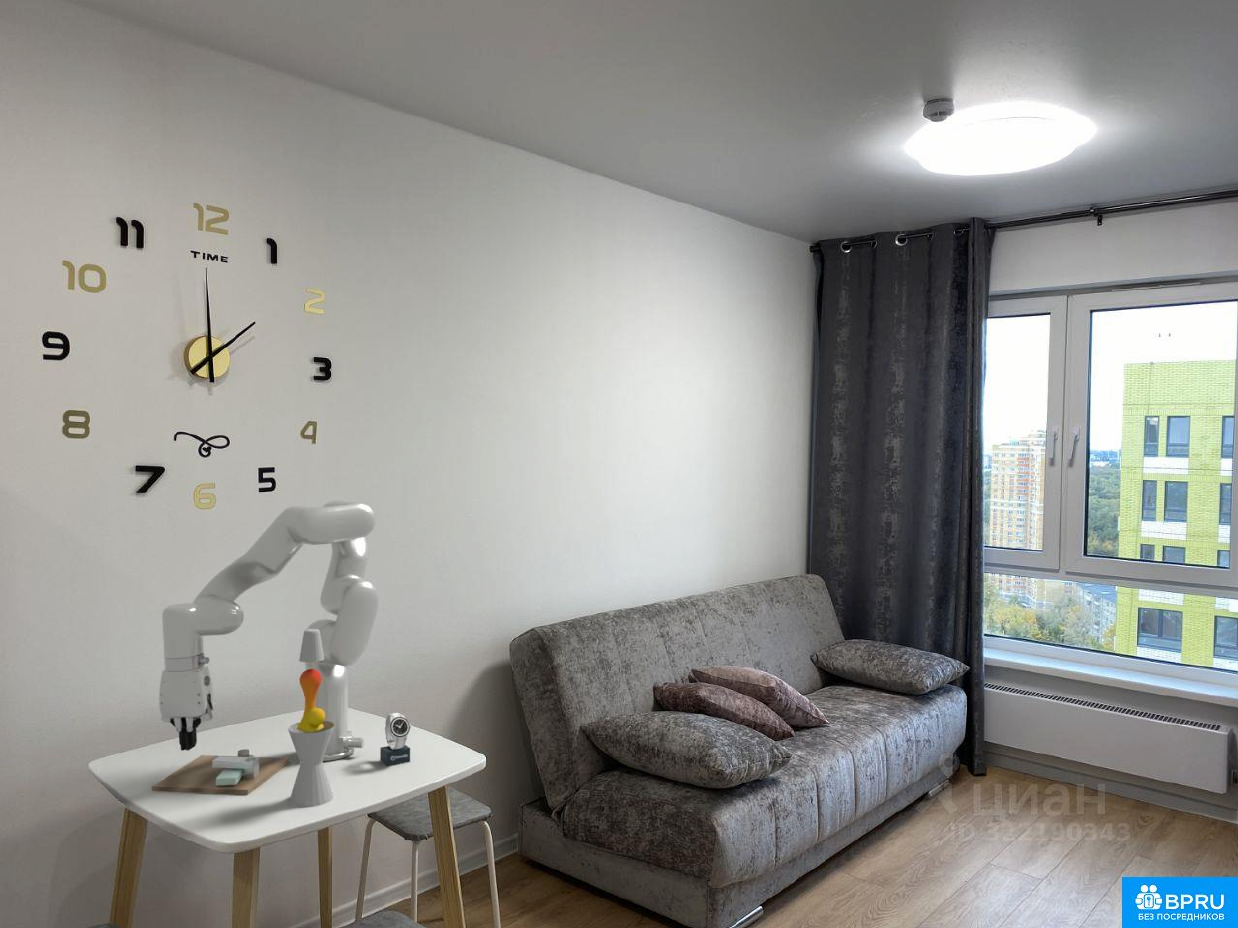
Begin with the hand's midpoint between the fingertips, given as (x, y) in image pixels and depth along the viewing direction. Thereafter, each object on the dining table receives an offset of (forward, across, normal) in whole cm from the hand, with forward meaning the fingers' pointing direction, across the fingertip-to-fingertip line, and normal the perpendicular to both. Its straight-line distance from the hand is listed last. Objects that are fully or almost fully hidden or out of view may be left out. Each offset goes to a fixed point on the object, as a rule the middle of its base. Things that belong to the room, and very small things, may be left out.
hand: (188, 747), depth 195 cm
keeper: (+9, -8, -5) cm, 13 cm away
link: (+8, -7, -6) cm, 12 cm away
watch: (+11, -38, -20) cm, 44 cm away
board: (+9, -4, -7) cm, 12 cm away
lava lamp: (+9, -28, +4) cm, 30 cm away
